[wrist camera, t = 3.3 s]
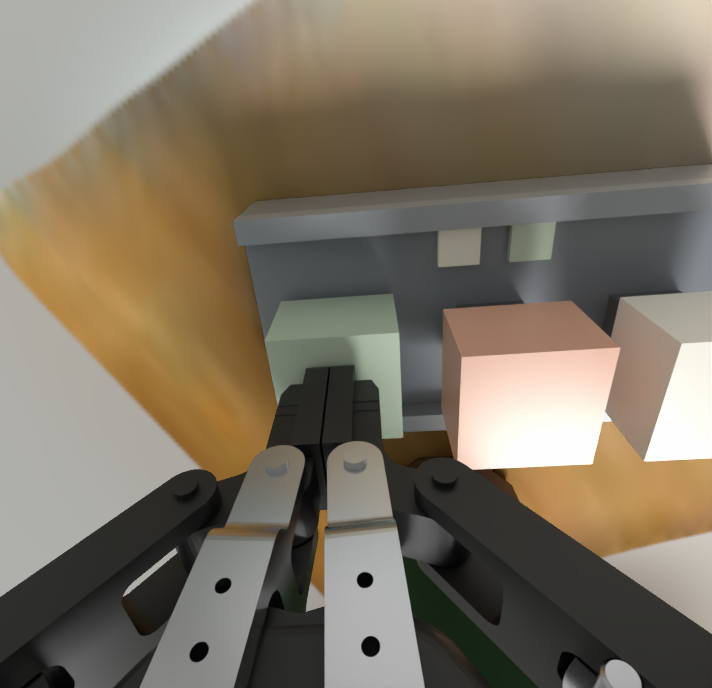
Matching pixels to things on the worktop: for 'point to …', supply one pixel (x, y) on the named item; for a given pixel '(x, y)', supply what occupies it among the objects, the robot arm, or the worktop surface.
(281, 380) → the key sage
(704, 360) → the key ivory
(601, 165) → the worktop surface
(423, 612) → the beer bottle
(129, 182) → the worktop surface
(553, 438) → the key terracotta
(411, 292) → the grey tray
